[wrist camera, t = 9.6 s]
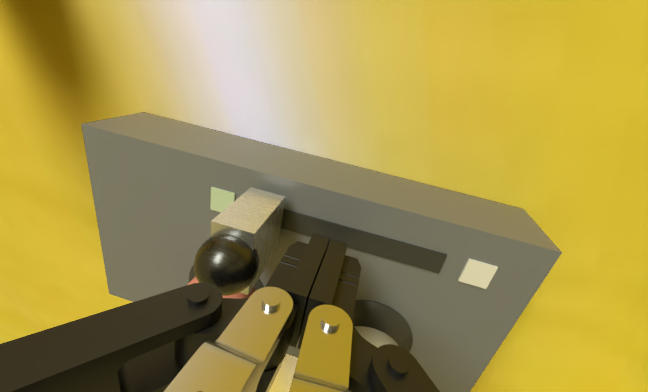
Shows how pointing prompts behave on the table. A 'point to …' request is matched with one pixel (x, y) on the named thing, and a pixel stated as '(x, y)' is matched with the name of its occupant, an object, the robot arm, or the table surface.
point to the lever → (241, 242)
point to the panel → (327, 220)
